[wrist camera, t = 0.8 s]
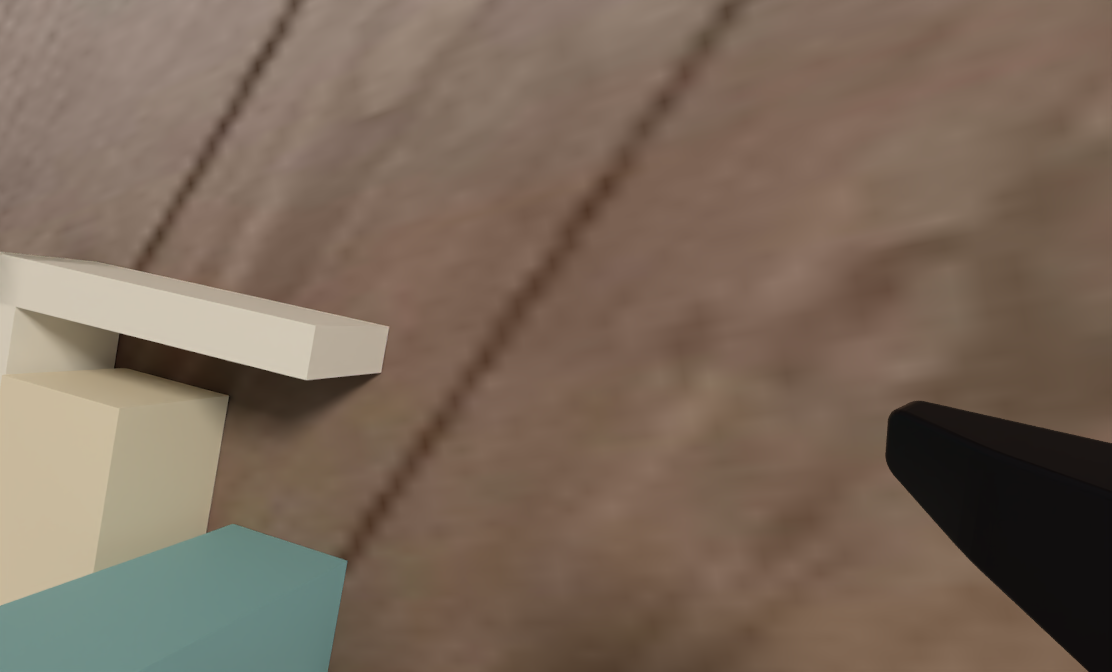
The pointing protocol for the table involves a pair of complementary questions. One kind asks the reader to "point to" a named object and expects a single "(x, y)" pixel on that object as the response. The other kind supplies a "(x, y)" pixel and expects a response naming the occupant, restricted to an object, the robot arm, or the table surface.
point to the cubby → (128, 408)
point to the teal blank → (185, 611)
